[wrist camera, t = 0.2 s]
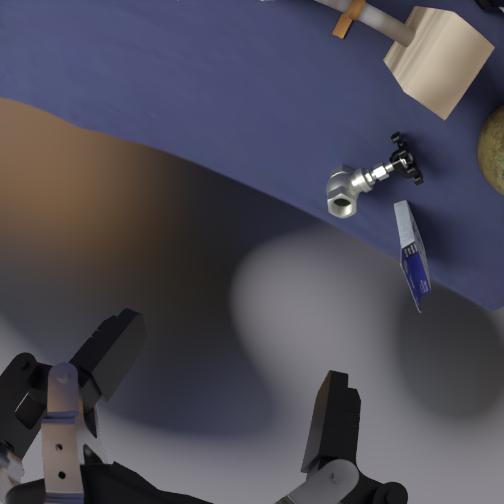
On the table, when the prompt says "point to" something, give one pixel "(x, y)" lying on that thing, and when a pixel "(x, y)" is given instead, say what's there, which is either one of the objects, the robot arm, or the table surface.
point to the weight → (492, 149)
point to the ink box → (412, 252)
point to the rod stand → (424, 50)
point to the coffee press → (490, 3)
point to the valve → (367, 179)
